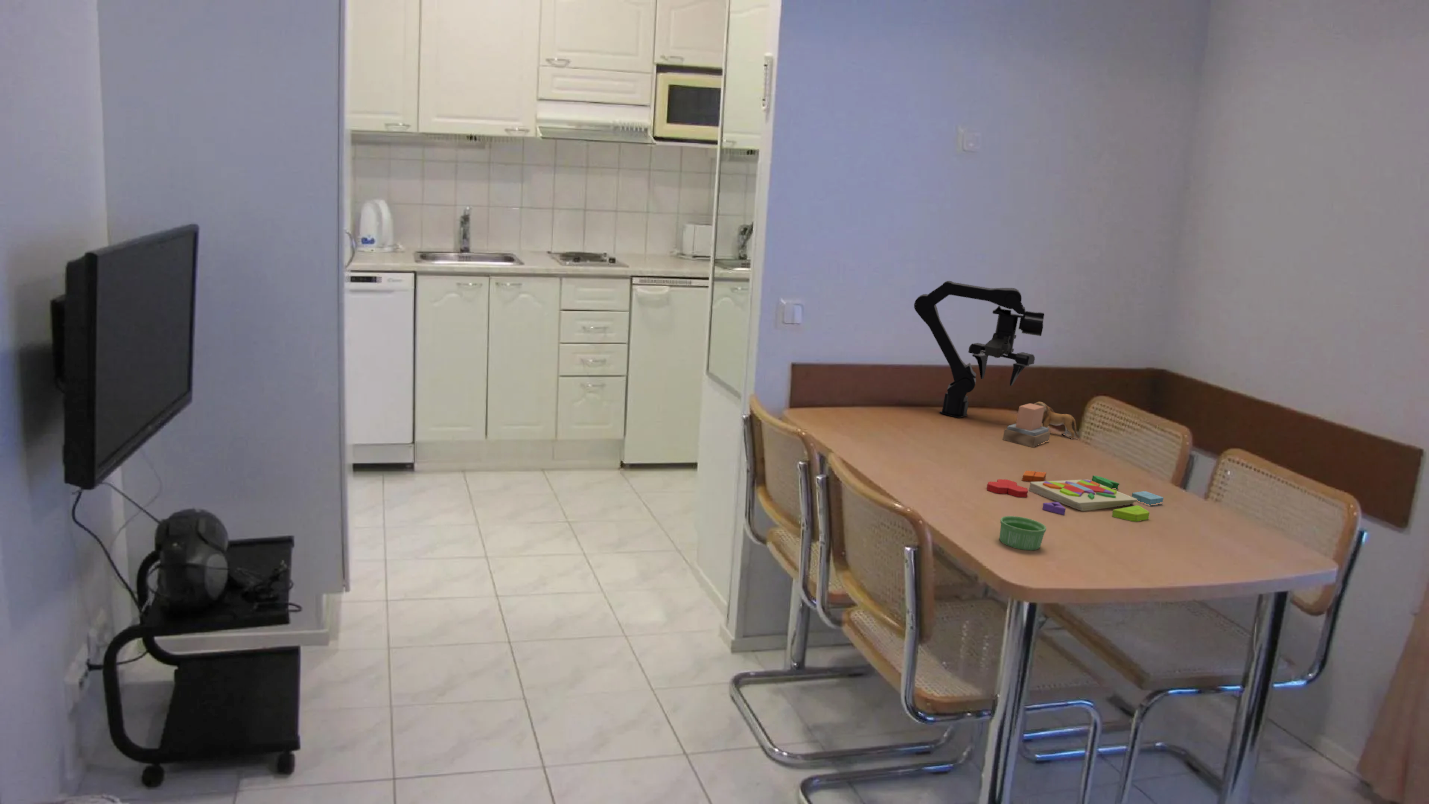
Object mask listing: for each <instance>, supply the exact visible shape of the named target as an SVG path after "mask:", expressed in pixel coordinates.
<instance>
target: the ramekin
mask: <svg viewBox="0 0 1429 804" xmlns="http://www.w3.org/2000/svg"><path fill="white" fill-rule="evenodd" d="M999 520H1000V522H999V523H1000V529H999V531H1000V532H999V541H1000V542H1001V543H1002V544H1004V545H1006V546H1008V547H1011V548H1014V549H1018V550H1023V551H1036V550H1038V549H1040V547H1041V546H1042V542H1043V539H1044V536H1045V533H1046V531H1047V526H1046V525H1045V524H1044V523H1042V522H1040V521H1037V520H1035V519H1032V518H1028V517H1023V516H1014V515H1007V516H1002V517H1001V518H1000V519H999Z"/></svg>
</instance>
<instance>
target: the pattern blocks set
mask: <svg viewBox="0 0 1429 804" xmlns="http://www.w3.org/2000/svg"><path fill="white" fill-rule="evenodd" d="M1046 476H1047V472H1043V471H1033V470H1025V471H1024V472H1023V474H1022V478H1021V481H1022V482H1028V483H1030V484H1029V489H1028V487H1024V486H1020V485H1018V482H1017V481H1014V480H1010V479H1006V478H1005V479H1000V478H999V479H997V480H996V481H987V484H986V489H987V491H988V492H990V493H994V494H998V495H999V494H1000V495H1006V494H1007V495H1010V496H1012V497H1015V498H1028V493H1029V492H1031V493H1034V494H1036V495H1038V496H1041V497H1044V498H1047V499H1049V500H1052V501H1053V502H1052V501H1051V502H1043V503H1042V510H1043V511H1046V512H1050V513H1055V514H1058V515H1061V516H1065V514H1066V507H1064V506H1063V505H1065V506H1067V507H1070V508H1073V509H1074V510H1075V509H1076V510H1078V511H1081V512H1089V511H1095V510H1102V509H1109V508H1111V509H1112V508H1116V509H1112V512H1111V513H1112V515H1111V517H1112V518H1117V519H1122V520H1126V521H1130V522H1135V523H1137V522H1141V521H1140V520H1143V521H1147V520H1146V519H1148V520H1149V517H1150V511H1148V510H1147V509H1146V508H1143V507H1142V506H1140V505H1134V504H1135V503H1137V502H1136V501H1137V500H1138V501H1140V502H1144V503H1146V504H1149V505H1151V504H1156V503H1160V502H1163V503H1164V497H1163V496H1160V495H1157V494H1154V493H1151V492H1149V491H1146V490H1144V491H1136V492H1132V494H1131V496H1130V495H1128V494H1125V493H1123V492H1120V491H1119V486H1120V482H1117V481H1114V480H1111V479H1108V478H1105V477H1102V476H1098V475H1092V477H1091V480H1090V479H1067V480H1065V479H1064V480H1046V478H1047V477H1046ZM1111 488H1116V489H1118V490H1116V489H1111ZM1130 504H1132V506H1130ZM1123 505H1125V506H1127V507H1124V506H1123ZM1117 506H1118V507H1122V508H1118V507H1117Z"/></svg>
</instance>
